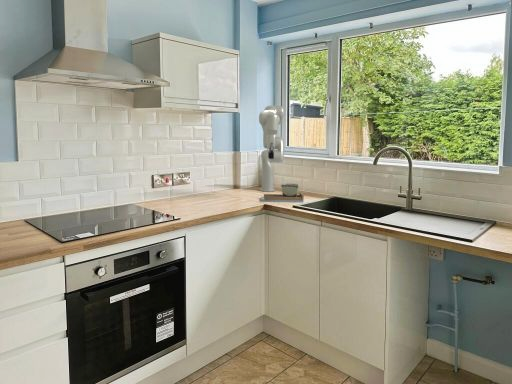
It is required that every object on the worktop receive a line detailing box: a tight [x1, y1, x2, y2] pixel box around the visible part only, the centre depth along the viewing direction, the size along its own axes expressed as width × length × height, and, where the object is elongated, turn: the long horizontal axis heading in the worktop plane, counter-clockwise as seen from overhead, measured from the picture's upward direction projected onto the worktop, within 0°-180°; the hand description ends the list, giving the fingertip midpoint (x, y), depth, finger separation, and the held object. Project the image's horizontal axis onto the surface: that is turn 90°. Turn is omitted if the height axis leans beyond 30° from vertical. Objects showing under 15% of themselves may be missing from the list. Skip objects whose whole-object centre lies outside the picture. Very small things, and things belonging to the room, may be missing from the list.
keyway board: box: [260, 191, 305, 203], centre depth 282 cm, size 12×28×5 cm, turn 91°
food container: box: [280, 182, 300, 197], centre depth 283 cm, size 12×6×10 cm, turn 69°
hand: (270, 158), depth 283 cm, fingers open, 9 cm apart
